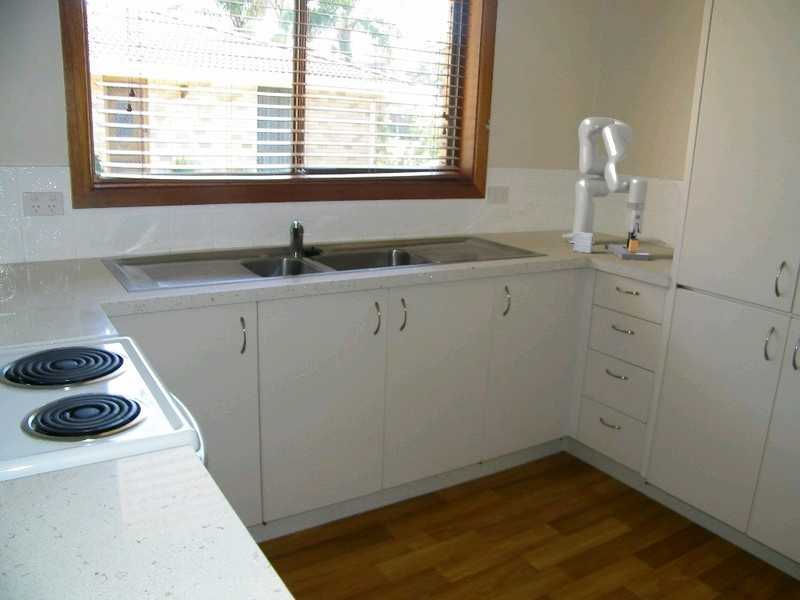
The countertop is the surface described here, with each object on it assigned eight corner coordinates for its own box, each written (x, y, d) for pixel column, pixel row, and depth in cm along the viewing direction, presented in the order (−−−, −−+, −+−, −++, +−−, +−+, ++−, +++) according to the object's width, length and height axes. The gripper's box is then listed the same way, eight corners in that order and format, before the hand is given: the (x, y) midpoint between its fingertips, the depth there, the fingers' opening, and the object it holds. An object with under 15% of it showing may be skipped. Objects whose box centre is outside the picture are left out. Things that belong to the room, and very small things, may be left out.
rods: (606, 249, 330) (606, 245, 330) (604, 247, 334) (604, 244, 334) (636, 250, 330) (636, 247, 330) (633, 249, 334) (634, 245, 333)
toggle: (629, 256, 310) (631, 238, 308) (627, 255, 313) (630, 237, 311) (636, 256, 310) (638, 239, 308) (634, 255, 312) (636, 238, 311)
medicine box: (592, 252, 321) (594, 233, 319) (590, 253, 317) (592, 234, 315) (574, 250, 324) (576, 231, 322) (572, 251, 320) (574, 232, 318)
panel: (621, 259, 306) (622, 253, 306) (608, 249, 330) (608, 244, 329) (649, 260, 306) (650, 254, 305) (633, 250, 329) (634, 245, 329)
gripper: (649, 209, 303) (643, 251, 307) (639, 205, 317) (634, 245, 322) (632, 208, 303) (626, 250, 307) (622, 204, 317) (617, 244, 322)
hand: (630, 247), depth 314 cm, fingers closed
